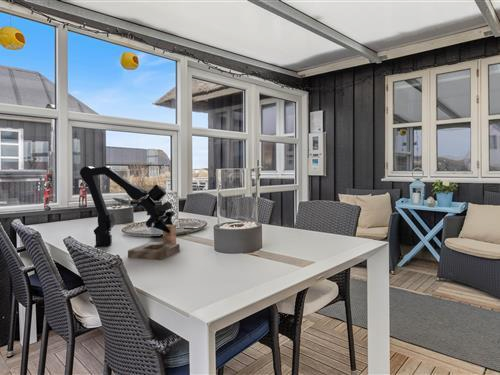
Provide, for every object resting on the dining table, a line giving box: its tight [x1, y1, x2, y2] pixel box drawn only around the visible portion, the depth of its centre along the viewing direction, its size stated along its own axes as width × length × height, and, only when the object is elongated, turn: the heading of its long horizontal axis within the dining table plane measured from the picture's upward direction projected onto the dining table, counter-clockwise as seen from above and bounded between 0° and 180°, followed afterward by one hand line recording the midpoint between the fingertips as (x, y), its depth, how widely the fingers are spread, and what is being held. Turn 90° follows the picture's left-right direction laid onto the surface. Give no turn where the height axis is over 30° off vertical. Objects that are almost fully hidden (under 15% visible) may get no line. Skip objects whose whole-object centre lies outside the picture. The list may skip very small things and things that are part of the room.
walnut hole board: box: [127, 241, 181, 261], centre depth 151 cm, size 16×16×3 cm
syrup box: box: [149, 215, 163, 234], centre depth 189 cm, size 6×6×14 cm
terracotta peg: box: [162, 224, 177, 244], centre depth 166 cm, size 5×5×10 cm
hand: (172, 231), depth 165 cm, fingers closed on terracotta peg, 5 cm apart
